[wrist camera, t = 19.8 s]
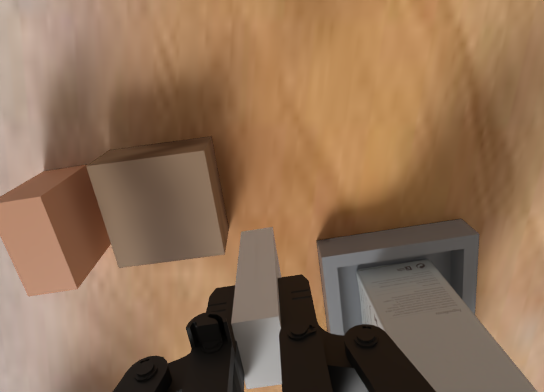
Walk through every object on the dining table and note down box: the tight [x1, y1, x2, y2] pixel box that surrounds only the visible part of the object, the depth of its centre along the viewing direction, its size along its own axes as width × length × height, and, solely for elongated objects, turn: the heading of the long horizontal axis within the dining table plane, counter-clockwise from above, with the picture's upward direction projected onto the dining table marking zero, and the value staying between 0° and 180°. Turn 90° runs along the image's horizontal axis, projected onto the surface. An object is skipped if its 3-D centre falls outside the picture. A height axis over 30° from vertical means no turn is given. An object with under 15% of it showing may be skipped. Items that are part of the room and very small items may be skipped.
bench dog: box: [0, 165, 111, 296], centre depth 25 cm, size 3×6×6 cm, turn 8°
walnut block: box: [86, 136, 229, 268], centre depth 26 cm, size 7×7×4 cm
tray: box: [317, 219, 479, 335], centre depth 30 cm, size 11×13×2 cm
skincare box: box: [356, 259, 537, 392], centre depth 24 cm, size 8×6×15 cm
